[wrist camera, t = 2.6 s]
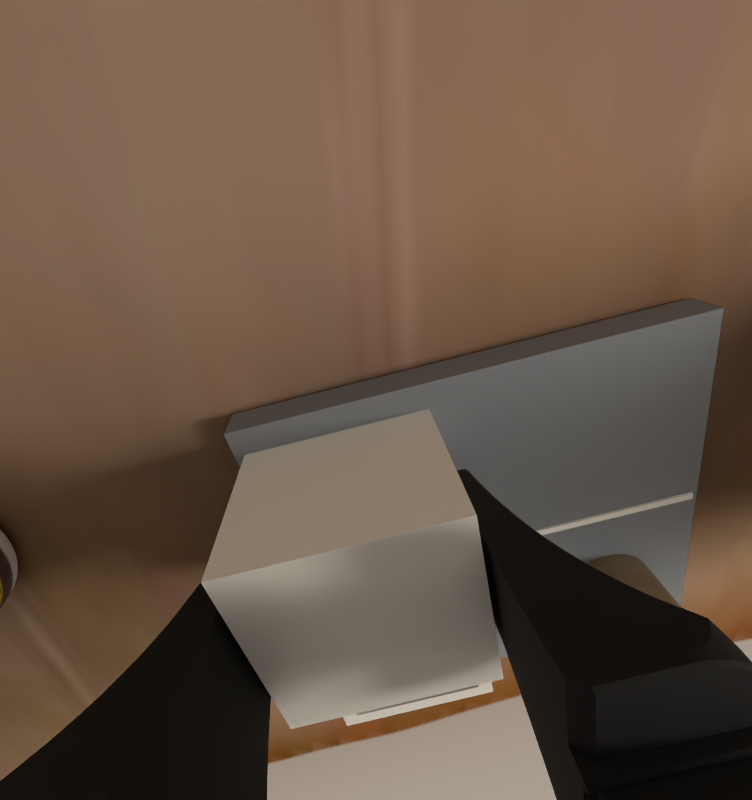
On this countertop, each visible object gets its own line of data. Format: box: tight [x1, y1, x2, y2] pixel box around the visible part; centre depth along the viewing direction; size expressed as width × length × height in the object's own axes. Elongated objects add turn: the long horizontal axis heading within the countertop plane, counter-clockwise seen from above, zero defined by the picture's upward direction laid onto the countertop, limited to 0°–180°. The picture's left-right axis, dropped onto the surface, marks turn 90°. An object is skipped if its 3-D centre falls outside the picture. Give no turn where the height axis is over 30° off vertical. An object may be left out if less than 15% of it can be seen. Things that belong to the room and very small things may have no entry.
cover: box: [201, 409, 503, 729], centre depth 11 cm, size 5×5×4 cm
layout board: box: [224, 298, 724, 726], centre depth 14 cm, size 14×13×4 cm
